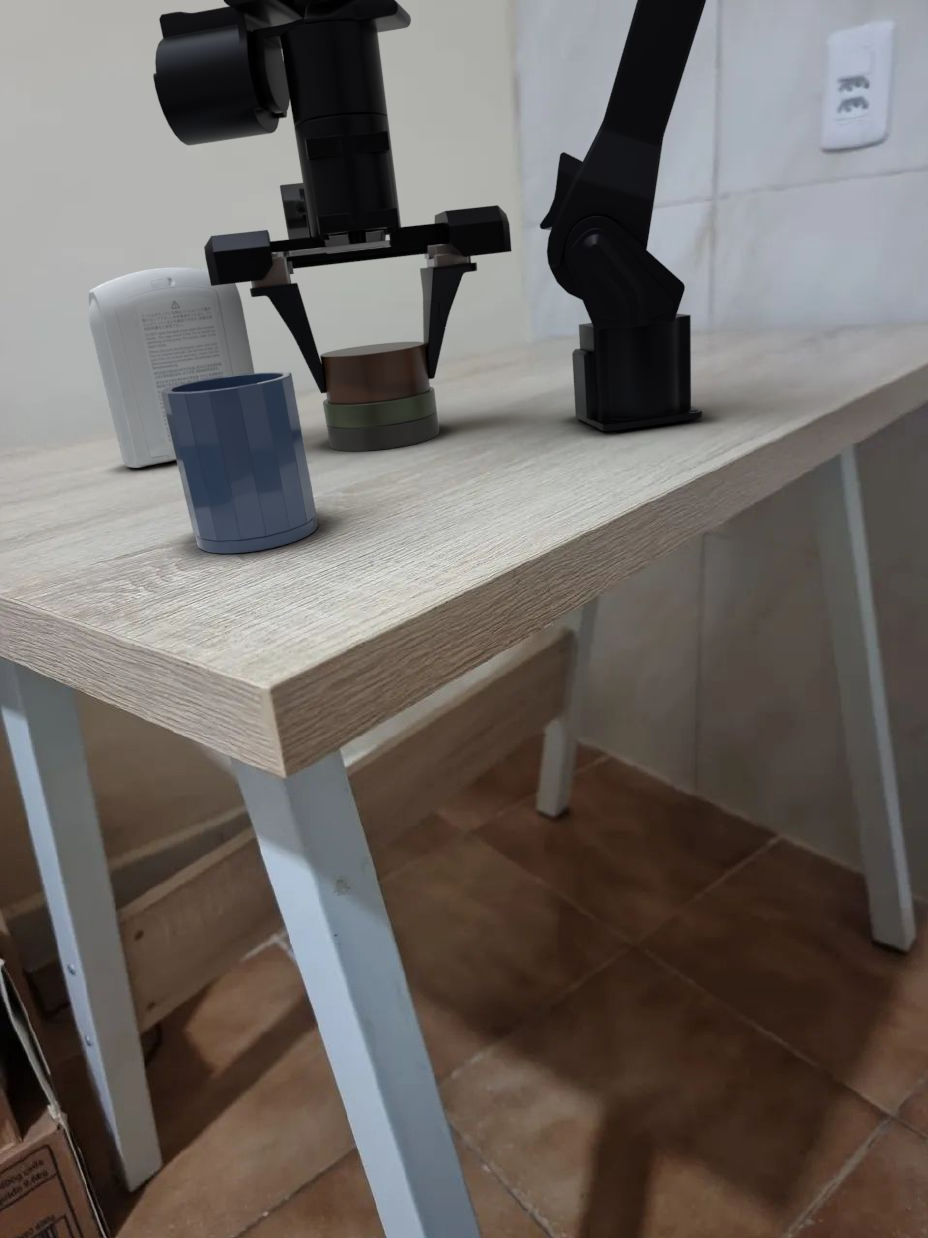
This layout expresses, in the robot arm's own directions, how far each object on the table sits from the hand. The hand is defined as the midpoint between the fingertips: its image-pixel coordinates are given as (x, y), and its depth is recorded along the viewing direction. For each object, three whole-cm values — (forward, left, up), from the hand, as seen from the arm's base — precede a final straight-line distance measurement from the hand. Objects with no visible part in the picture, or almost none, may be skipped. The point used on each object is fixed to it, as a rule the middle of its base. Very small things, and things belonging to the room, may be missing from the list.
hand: (378, 385), depth 59 cm
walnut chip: (0, 0, -1) cm, 1 cm away
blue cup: (+8, +20, -4) cm, 22 cm away
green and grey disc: (0, 0, -4) cm, 4 cm away
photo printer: (+13, -4, -4) cm, 14 cm away
